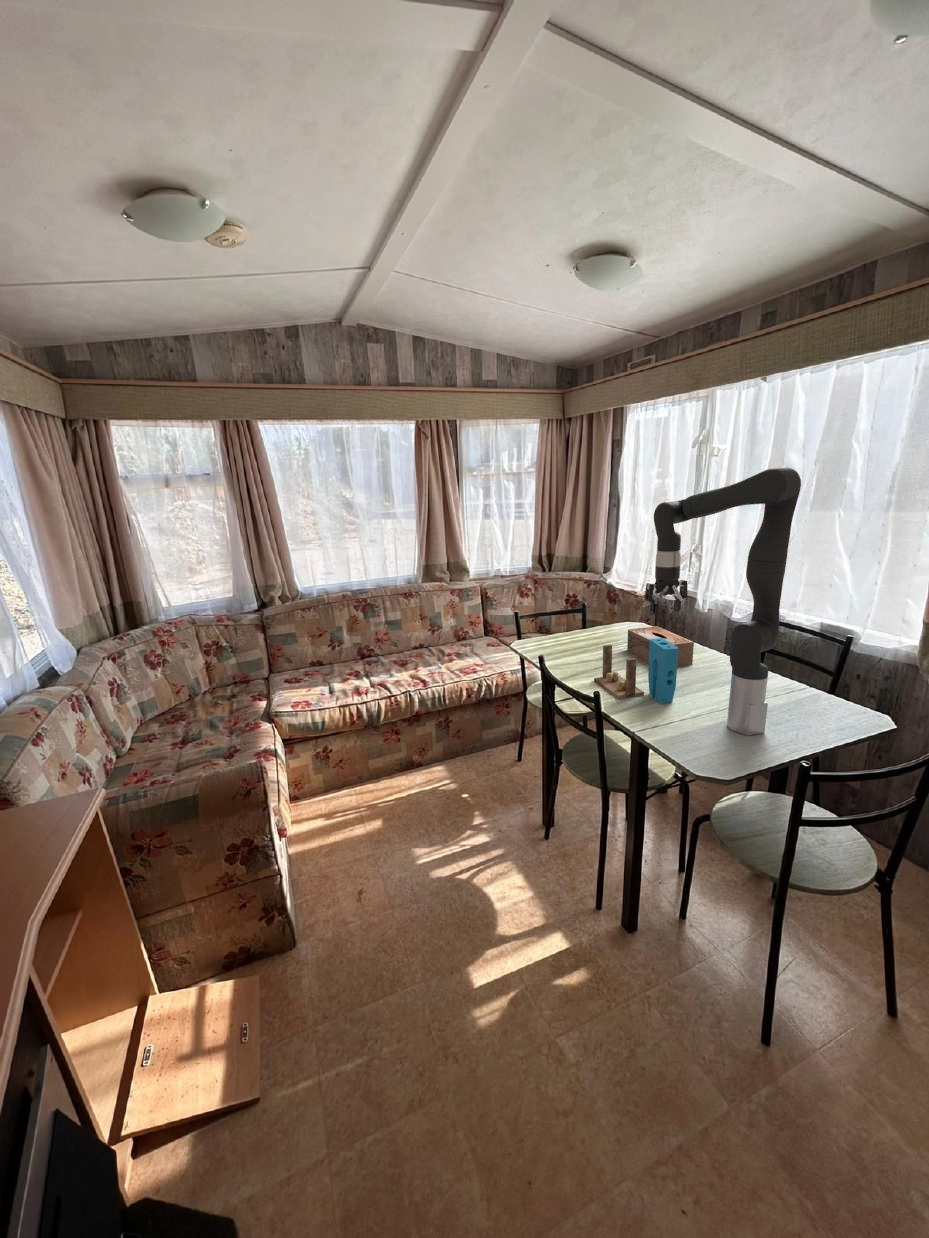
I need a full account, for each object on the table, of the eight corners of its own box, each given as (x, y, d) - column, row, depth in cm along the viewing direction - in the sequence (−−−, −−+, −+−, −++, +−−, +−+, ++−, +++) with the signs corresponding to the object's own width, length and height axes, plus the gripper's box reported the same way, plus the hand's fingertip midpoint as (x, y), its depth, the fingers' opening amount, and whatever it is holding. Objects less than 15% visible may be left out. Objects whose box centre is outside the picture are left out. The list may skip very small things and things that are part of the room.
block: (675, 704, 167) (679, 648, 161) (661, 705, 166) (664, 649, 161) (659, 690, 178) (662, 637, 173) (646, 691, 178) (648, 638, 173)
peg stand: (617, 677, 192) (618, 643, 189) (643, 695, 175) (645, 657, 172) (594, 680, 190) (594, 646, 187) (618, 699, 173) (619, 661, 170)
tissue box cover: (627, 650, 223) (627, 629, 221) (655, 647, 226) (656, 626, 223) (660, 669, 199) (661, 646, 196) (692, 665, 201) (693, 642, 199)
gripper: (655, 567, 155) (653, 617, 159) (694, 564, 158) (691, 612, 162) (641, 564, 162) (639, 612, 167) (679, 561, 165) (677, 608, 169)
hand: (665, 612), depth 164 cm, fingers open, 8 cm apart
